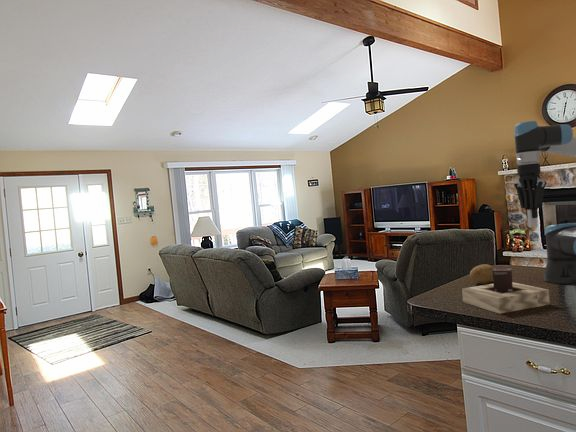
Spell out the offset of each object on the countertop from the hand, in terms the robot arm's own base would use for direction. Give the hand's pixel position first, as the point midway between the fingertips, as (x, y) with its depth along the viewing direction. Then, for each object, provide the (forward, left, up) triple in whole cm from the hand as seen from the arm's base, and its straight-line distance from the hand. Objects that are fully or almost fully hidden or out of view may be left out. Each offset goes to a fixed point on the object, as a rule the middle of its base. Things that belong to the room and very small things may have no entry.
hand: (532, 226), depth 159 cm
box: (+21, +7, -25) cm, 33 cm away
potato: (+5, -23, -25) cm, 34 cm away
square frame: (+21, +7, -24) cm, 33 cm away
